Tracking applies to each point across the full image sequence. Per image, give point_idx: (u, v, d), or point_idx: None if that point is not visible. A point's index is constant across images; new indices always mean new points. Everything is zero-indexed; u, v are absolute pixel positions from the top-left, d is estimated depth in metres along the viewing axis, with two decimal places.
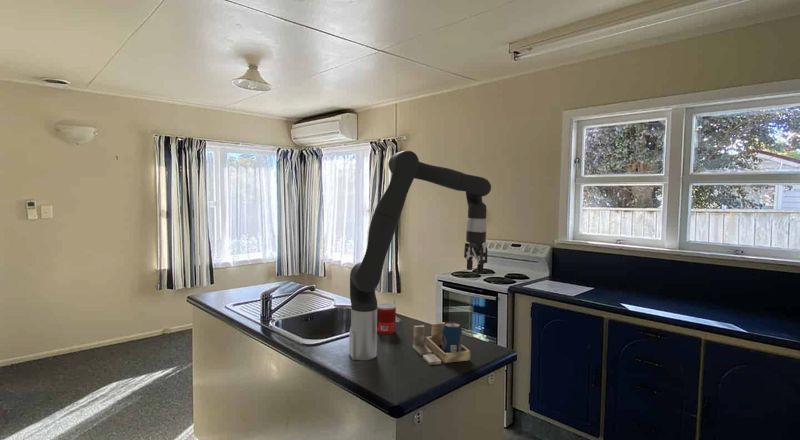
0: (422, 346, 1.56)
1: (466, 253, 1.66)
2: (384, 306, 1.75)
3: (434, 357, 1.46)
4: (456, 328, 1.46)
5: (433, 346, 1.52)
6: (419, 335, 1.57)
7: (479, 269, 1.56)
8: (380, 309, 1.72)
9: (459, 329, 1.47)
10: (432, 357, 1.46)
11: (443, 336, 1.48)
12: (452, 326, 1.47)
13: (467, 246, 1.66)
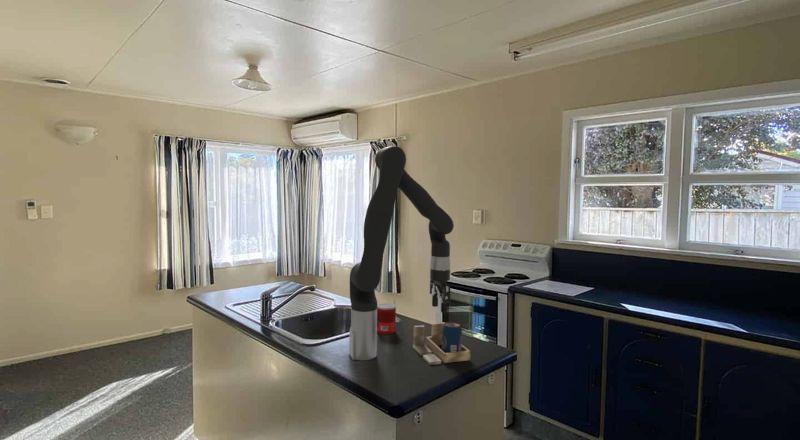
0: (422, 346, 1.56)
1: (431, 289, 1.65)
2: (384, 306, 1.75)
3: (434, 357, 1.46)
4: (456, 328, 1.46)
5: (433, 346, 1.52)
6: (419, 335, 1.57)
7: (443, 308, 1.55)
8: (380, 309, 1.72)
9: (459, 329, 1.47)
10: (432, 357, 1.46)
11: (443, 337, 1.47)
12: (452, 326, 1.47)
13: (432, 282, 1.64)
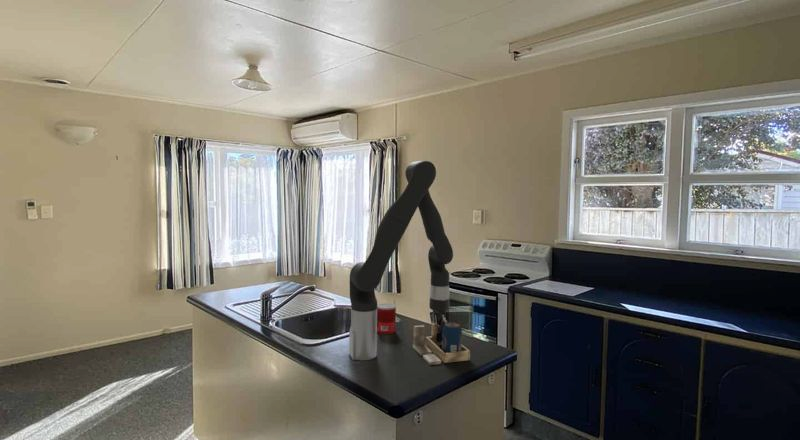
0: (422, 346, 1.56)
1: (433, 321, 1.63)
2: (384, 306, 1.75)
3: (434, 357, 1.46)
4: (456, 328, 1.46)
5: (433, 346, 1.52)
6: (419, 335, 1.57)
7: (438, 337, 1.58)
8: (380, 309, 1.72)
9: (459, 329, 1.47)
10: (432, 357, 1.46)
11: (443, 337, 1.47)
12: (452, 326, 1.47)
13: None
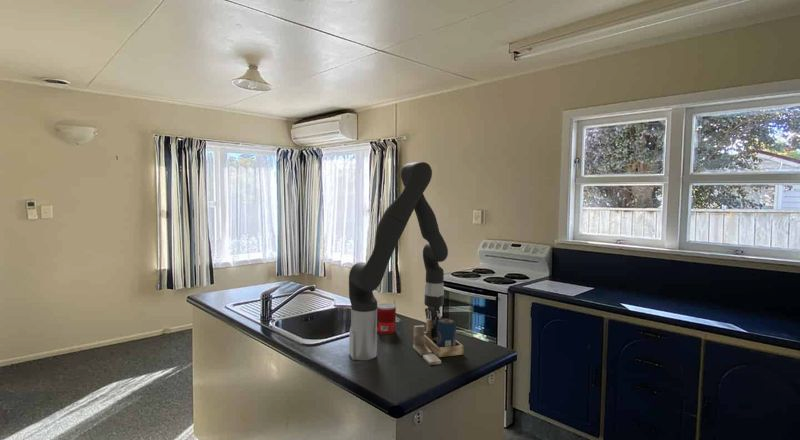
0: (422, 346, 1.56)
1: (428, 318, 1.68)
2: (384, 306, 1.75)
3: (434, 357, 1.46)
4: (450, 324, 1.50)
5: (428, 341, 1.57)
6: (419, 335, 1.57)
7: (433, 333, 1.63)
8: (380, 309, 1.72)
9: (453, 325, 1.51)
10: (432, 357, 1.46)
11: (438, 332, 1.52)
12: (447, 322, 1.51)
13: None
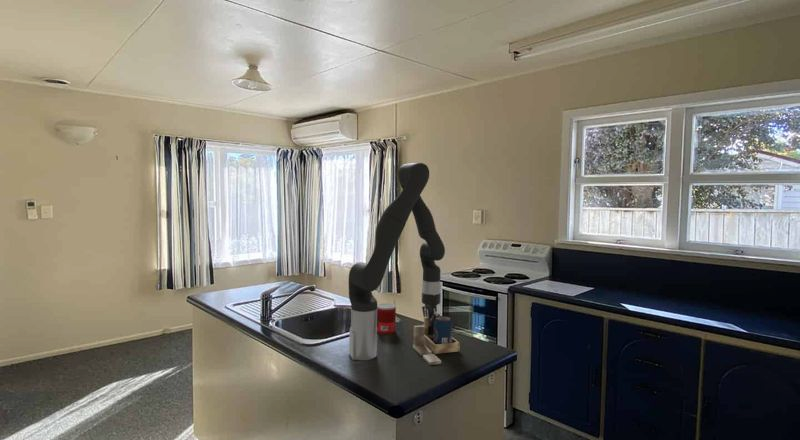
0: (422, 346, 1.56)
1: (425, 315, 1.71)
2: (384, 306, 1.75)
3: (434, 357, 1.46)
4: (447, 321, 1.53)
5: (425, 338, 1.60)
6: (419, 335, 1.57)
7: (430, 330, 1.66)
8: (380, 309, 1.72)
9: (450, 322, 1.54)
10: (432, 357, 1.46)
11: (434, 330, 1.55)
12: (443, 319, 1.54)
13: (424, 308, 1.72)
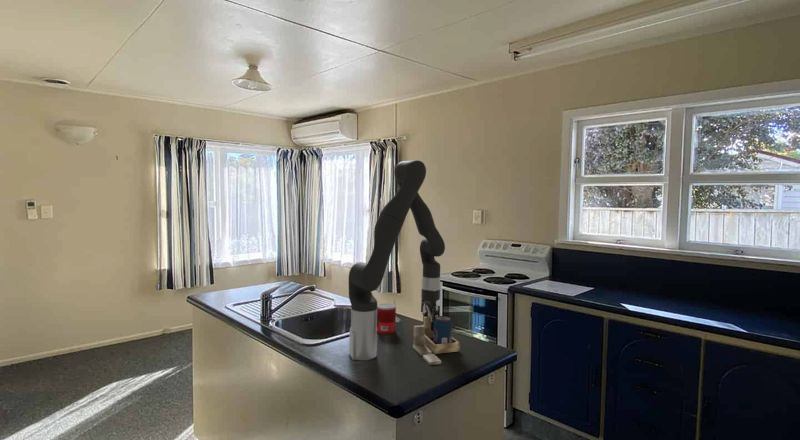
0: (422, 346, 1.56)
1: (422, 308, 1.73)
2: (384, 306, 1.75)
3: (434, 357, 1.46)
4: (447, 321, 1.53)
5: (425, 338, 1.60)
6: (419, 335, 1.57)
7: (432, 326, 1.63)
8: (380, 309, 1.72)
9: (450, 322, 1.54)
10: (432, 357, 1.46)
11: (434, 330, 1.55)
12: (443, 319, 1.54)
13: (423, 301, 1.73)
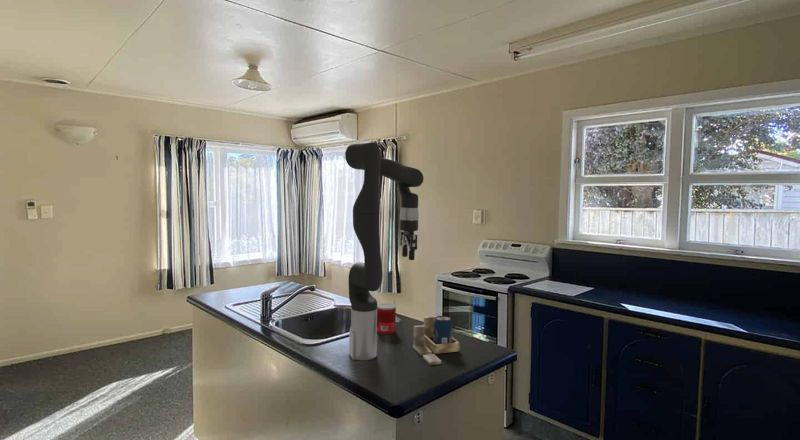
0: (422, 346, 1.56)
1: (402, 241, 1.76)
2: (384, 306, 1.75)
3: (434, 357, 1.46)
4: (447, 321, 1.53)
5: (425, 338, 1.60)
6: (419, 335, 1.57)
7: (410, 255, 1.66)
8: (380, 309, 1.72)
9: (450, 322, 1.54)
10: (432, 357, 1.46)
11: (434, 330, 1.55)
12: (443, 319, 1.54)
13: (403, 234, 1.75)
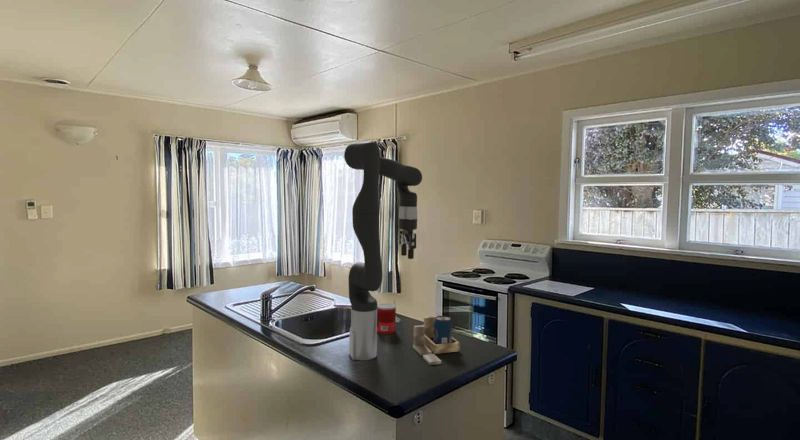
0: (422, 346, 1.56)
1: (401, 240, 1.76)
2: (384, 306, 1.75)
3: (434, 357, 1.46)
4: (447, 321, 1.53)
5: (425, 338, 1.60)
6: (419, 335, 1.57)
7: (409, 254, 1.66)
8: (380, 309, 1.72)
9: (450, 322, 1.54)
10: (432, 357, 1.46)
11: (434, 330, 1.55)
12: (443, 319, 1.54)
13: (401, 233, 1.75)
